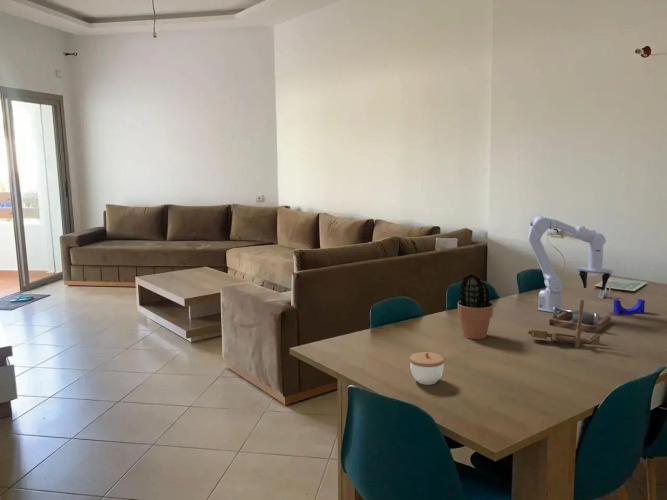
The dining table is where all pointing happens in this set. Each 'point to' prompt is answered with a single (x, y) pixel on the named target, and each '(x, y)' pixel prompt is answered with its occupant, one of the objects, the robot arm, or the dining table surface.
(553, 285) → the robot arm
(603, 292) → the architectural model
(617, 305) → the blue curved piece
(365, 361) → the dining table surface
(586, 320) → the grey round dome
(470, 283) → the potted plant
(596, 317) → the metal handle
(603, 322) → the frame
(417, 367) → the lidded jar
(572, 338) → the wooden figure
